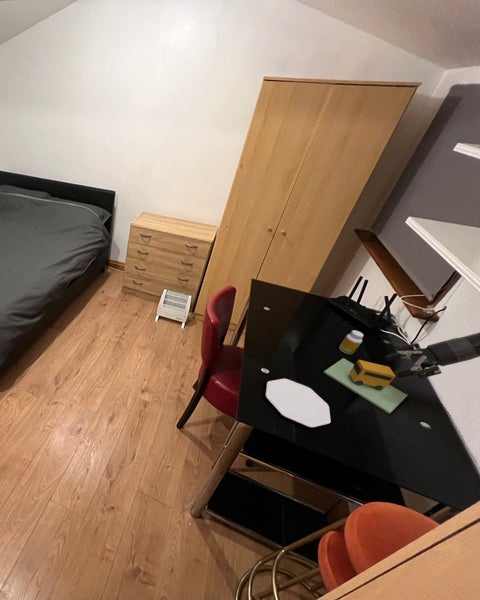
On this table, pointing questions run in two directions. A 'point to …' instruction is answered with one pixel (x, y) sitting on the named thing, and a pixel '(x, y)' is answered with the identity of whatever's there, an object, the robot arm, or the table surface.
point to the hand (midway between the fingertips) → (391, 366)
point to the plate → (298, 403)
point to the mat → (366, 387)
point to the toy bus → (371, 374)
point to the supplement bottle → (351, 342)
